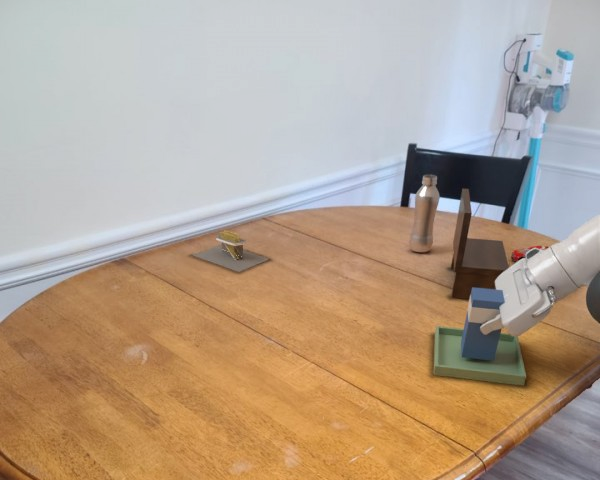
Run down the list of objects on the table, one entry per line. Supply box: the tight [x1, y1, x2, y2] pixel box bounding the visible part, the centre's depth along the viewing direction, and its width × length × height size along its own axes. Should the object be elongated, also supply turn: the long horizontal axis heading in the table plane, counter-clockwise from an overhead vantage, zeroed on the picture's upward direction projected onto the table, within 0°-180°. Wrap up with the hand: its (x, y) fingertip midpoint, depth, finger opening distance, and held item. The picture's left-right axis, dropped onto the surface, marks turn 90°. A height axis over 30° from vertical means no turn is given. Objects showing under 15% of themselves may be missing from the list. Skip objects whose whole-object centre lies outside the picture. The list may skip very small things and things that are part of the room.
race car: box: [510, 245, 550, 262], centre depth 151 cm, size 13×5×4 cm, turn 80°
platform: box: [192, 229, 270, 273], centre depth 151 cm, size 12×18×7 cm, turn 50°
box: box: [461, 287, 505, 361], centre depth 106 cm, size 6×6×12 cm
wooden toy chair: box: [450, 188, 510, 301], centre depth 134 cm, size 12×20×20 cm, turn 168°
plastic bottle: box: [408, 174, 441, 253], centre depth 152 cm, size 6×7×20 cm
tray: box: [433, 325, 527, 386], centre depth 110 cm, size 16×16×2 cm
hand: (480, 321), depth 106 cm, fingers closed on box, 5 cm apart
